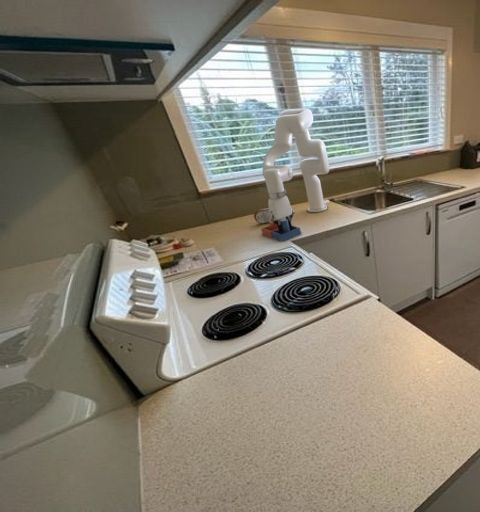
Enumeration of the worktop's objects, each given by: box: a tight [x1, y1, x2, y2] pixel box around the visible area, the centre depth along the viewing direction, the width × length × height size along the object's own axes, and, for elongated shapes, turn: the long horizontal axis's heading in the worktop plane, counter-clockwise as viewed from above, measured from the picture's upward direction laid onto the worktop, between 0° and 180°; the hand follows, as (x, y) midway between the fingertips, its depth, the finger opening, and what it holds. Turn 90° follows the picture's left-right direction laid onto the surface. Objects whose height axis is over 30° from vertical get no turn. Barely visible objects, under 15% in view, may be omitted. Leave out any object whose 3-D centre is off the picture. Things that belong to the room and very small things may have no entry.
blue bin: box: [271, 225, 302, 242], centre depth 152 cm, size 11×9×4 cm
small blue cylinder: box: [280, 218, 290, 233], centre depth 150 cm, size 4×4×6 cm
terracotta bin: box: [260, 224, 277, 239], centre depth 158 cm, size 11×9×4 cm
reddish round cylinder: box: [268, 222, 278, 230], centre depth 157 cm, size 4×4×6 cm
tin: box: [253, 207, 275, 225], centre depth 173 cm, size 15×3×8 cm, turn 121°
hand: (285, 229), depth 151 cm, fingers closed on small blue cylinder, 4 cm apart
